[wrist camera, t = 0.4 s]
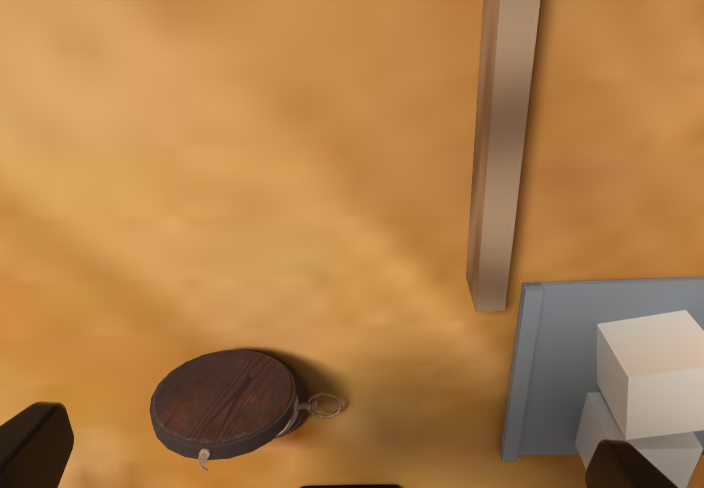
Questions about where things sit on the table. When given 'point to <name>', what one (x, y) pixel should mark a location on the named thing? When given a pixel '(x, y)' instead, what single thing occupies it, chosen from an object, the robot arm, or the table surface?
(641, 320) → the white square block
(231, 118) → the table surface
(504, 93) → the walnut corral
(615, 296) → the rubber tray
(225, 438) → the compass
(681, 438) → the cream matte cube
